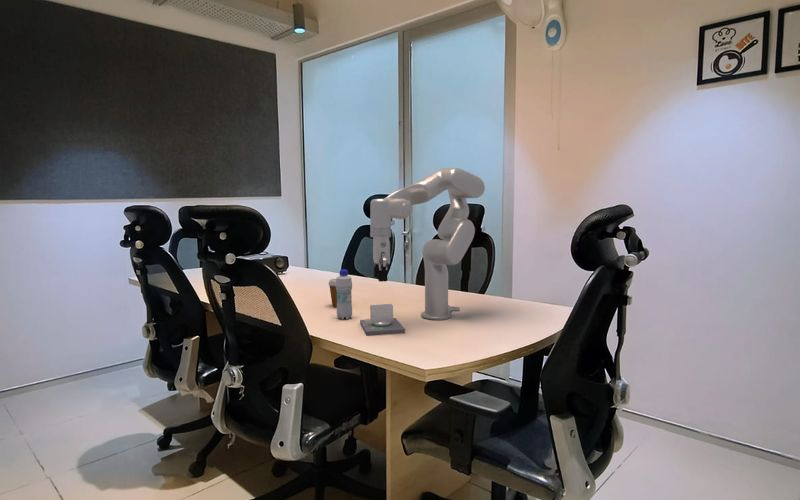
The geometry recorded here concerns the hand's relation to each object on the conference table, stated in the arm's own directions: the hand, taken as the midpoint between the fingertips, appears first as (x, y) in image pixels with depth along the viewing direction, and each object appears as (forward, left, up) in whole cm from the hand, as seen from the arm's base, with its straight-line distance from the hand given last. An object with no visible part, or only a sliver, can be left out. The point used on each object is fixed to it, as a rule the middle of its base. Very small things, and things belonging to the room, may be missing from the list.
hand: (380, 279), depth 177 cm
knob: (+1, 0, -17) cm, 17 cm away
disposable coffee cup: (+12, -41, -19) cm, 46 cm away
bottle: (+12, -19, -19) cm, 29 cm away
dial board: (0, 0, -19) cm, 19 cm away
